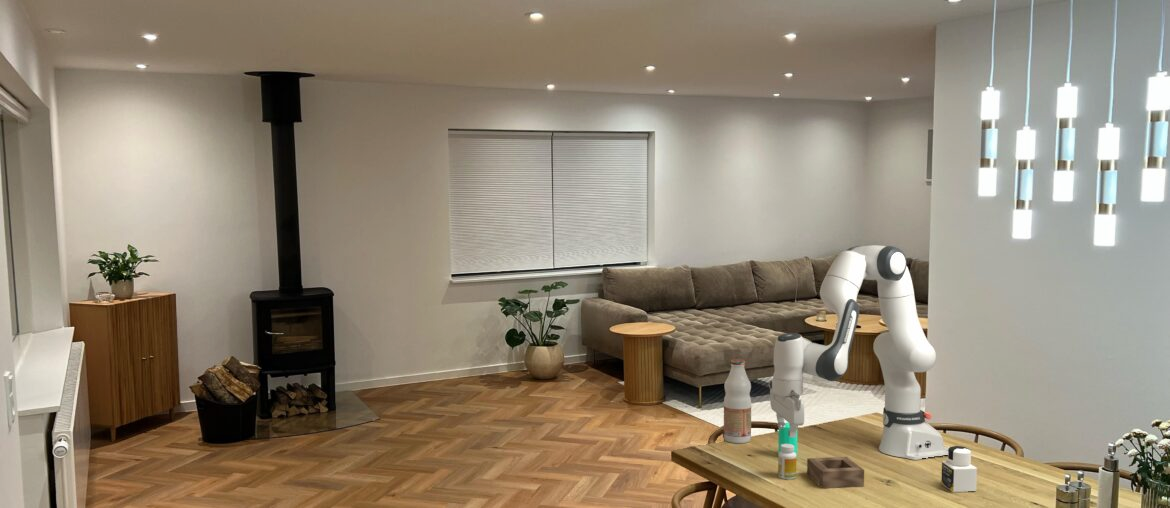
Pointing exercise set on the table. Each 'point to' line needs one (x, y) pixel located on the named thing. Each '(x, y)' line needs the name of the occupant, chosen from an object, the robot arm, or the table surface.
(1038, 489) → the table surface
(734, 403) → the fruit juice
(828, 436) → the table surface
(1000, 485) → the table surface
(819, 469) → the well block
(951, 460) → the medicine bottle
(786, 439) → the candle
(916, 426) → the robot arm
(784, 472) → the supplement bottle
